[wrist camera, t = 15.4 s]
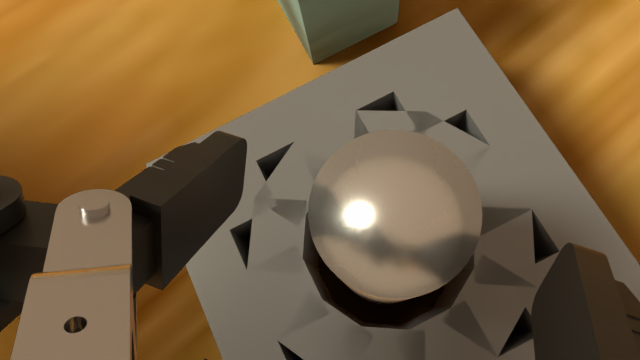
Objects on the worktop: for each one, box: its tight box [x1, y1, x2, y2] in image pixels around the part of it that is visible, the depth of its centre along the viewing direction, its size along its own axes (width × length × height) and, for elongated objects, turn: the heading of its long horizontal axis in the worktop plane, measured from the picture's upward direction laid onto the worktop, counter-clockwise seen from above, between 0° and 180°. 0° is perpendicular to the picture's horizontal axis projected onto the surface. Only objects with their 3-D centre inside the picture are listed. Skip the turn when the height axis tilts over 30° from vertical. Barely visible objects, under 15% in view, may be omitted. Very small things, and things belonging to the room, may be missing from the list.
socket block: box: [146, 8, 640, 360], centre depth 19 cm, size 14×14×5 cm
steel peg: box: [308, 130, 482, 304], centre depth 16 cm, size 4×4×11 cm
